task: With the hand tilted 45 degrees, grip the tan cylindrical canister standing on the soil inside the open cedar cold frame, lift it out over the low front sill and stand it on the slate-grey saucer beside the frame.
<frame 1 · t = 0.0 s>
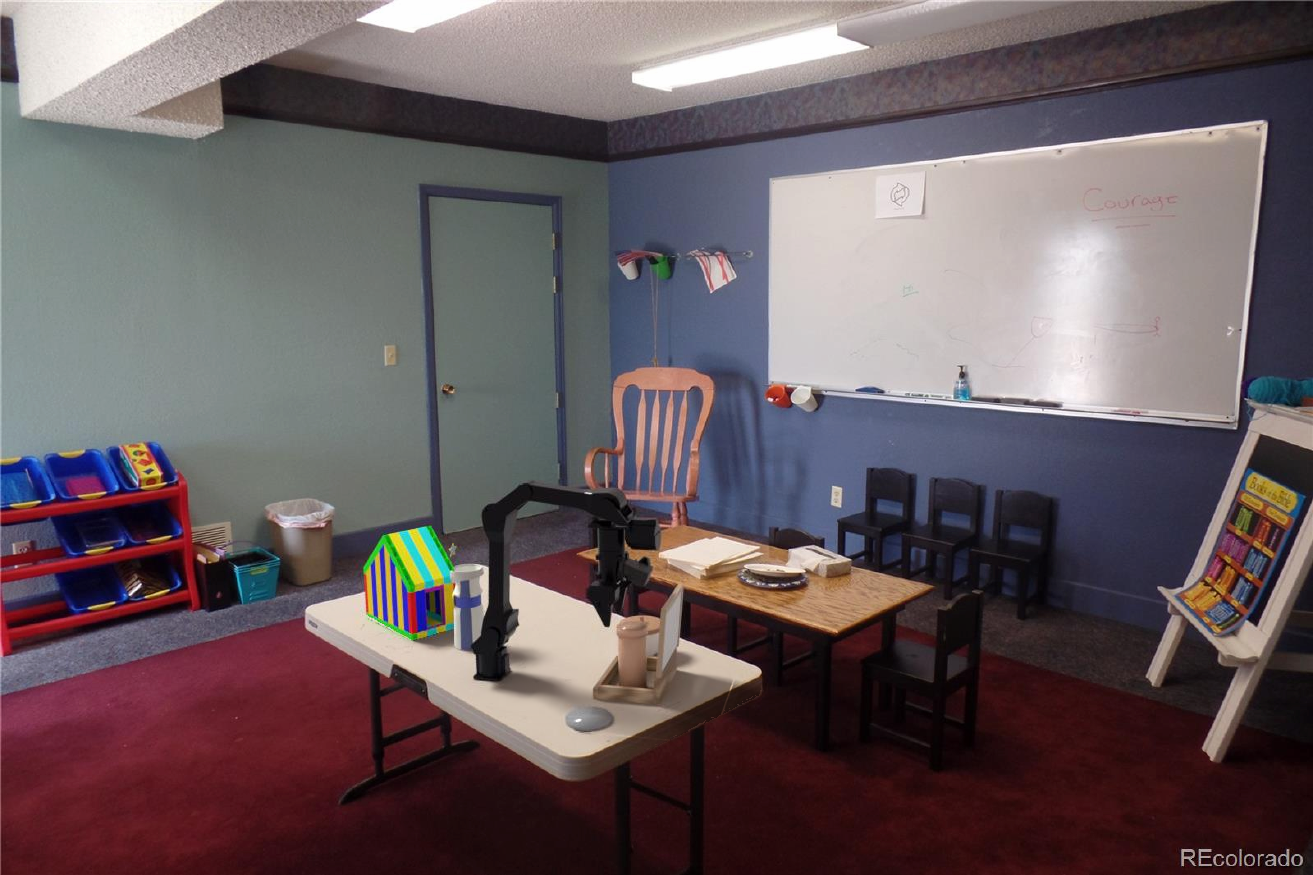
hand: (613, 619, 186), 15 cm above the table, tool pointing down, fingers open, 9 cm apart
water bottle: (469, 645, 213), on the table
lidded jar: (642, 655, 205), on the table
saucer: (588, 721, 171), on the table
tan cylindrical canister: (633, 689, 185), resting on cold frame
toy house: (412, 623, 229), on the table
cold frame: (636, 685, 188), on the table
lid: (667, 660, 185), resting on cold frame
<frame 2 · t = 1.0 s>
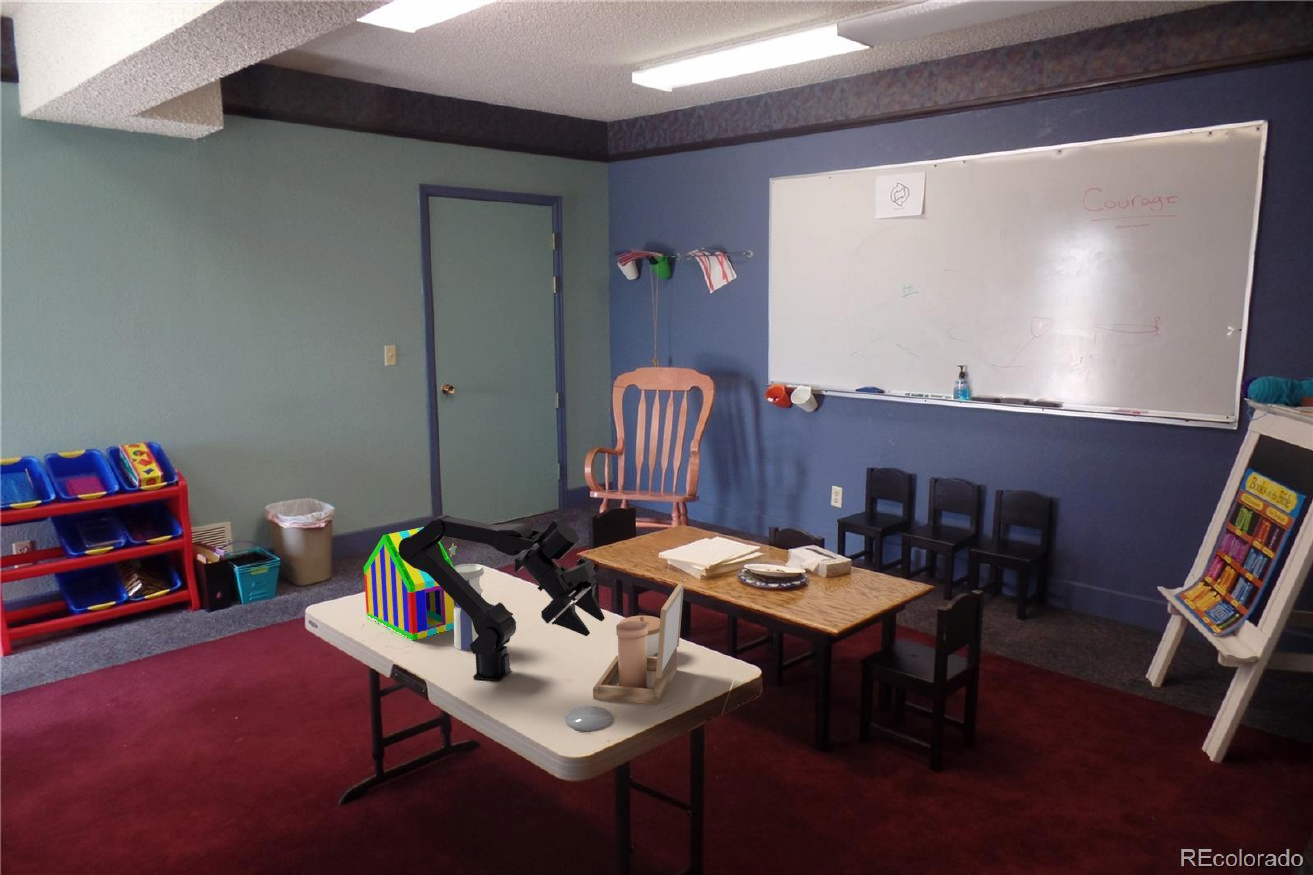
hand: (596, 627, 185), 13 cm above the table, tool tilted 45°, fingers open, 9 cm apart
nothing on the table moved.
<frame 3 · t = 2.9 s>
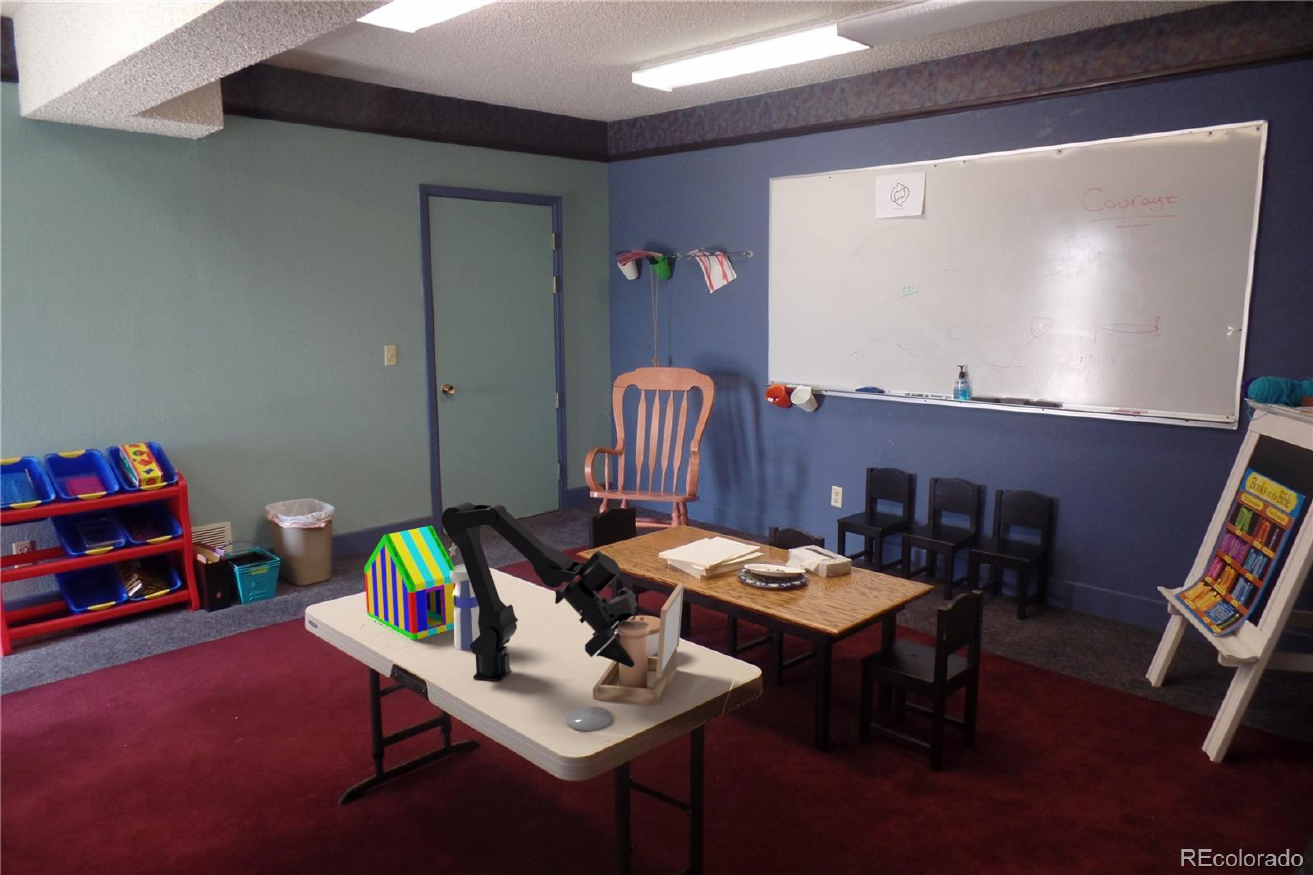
hand: (638, 659, 183), 7 cm above the table, tool tilted 45°, fingers open, 7 cm apart
nothing on the table moved.
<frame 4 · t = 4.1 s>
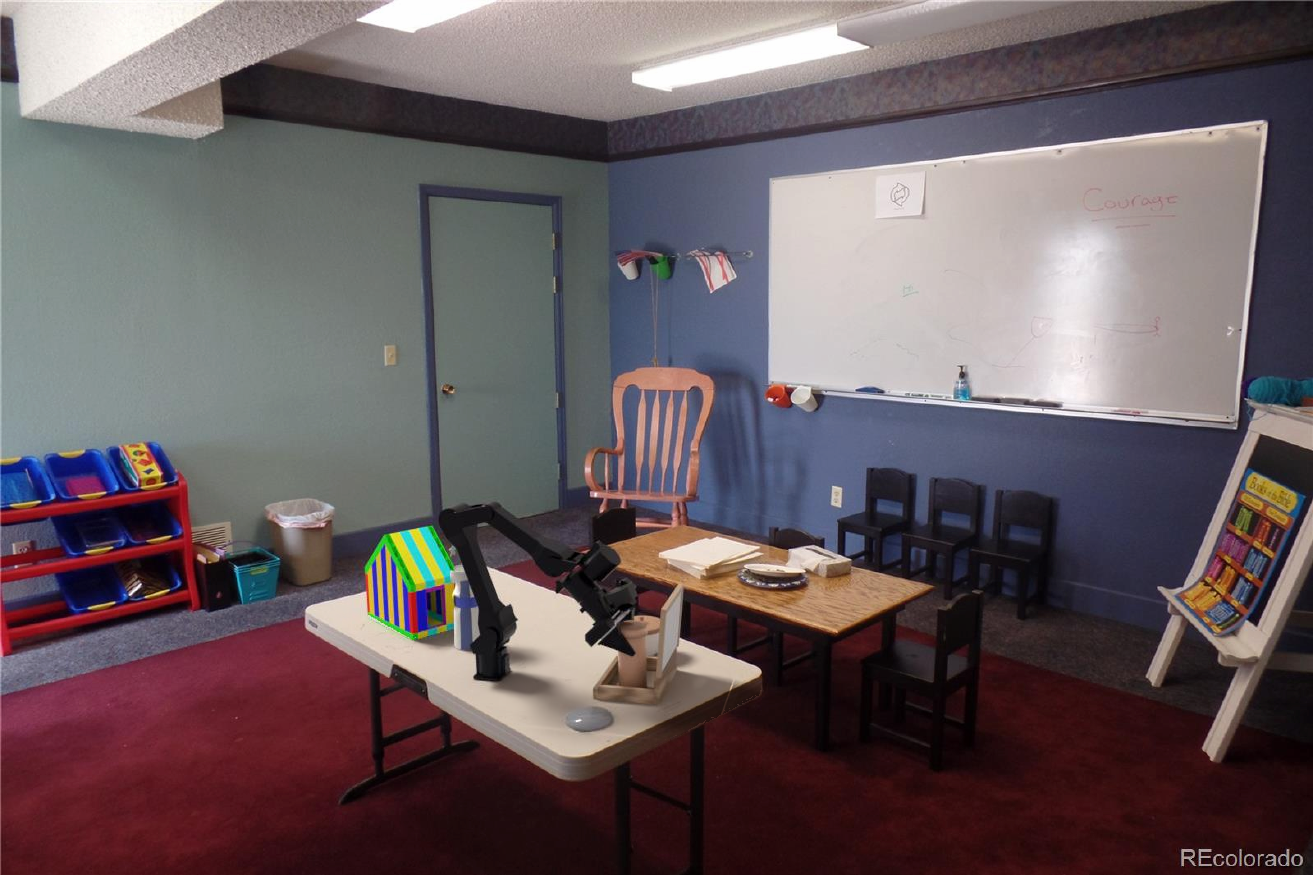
hand: (638, 649, 183), 9 cm above the table, tool tilted 45°, fingers closed on tan cylindrical canister, 6 cm apart
tan cylindrical canister: (633, 689, 185), resting on cold frame, touching gripper
everything else where it was.
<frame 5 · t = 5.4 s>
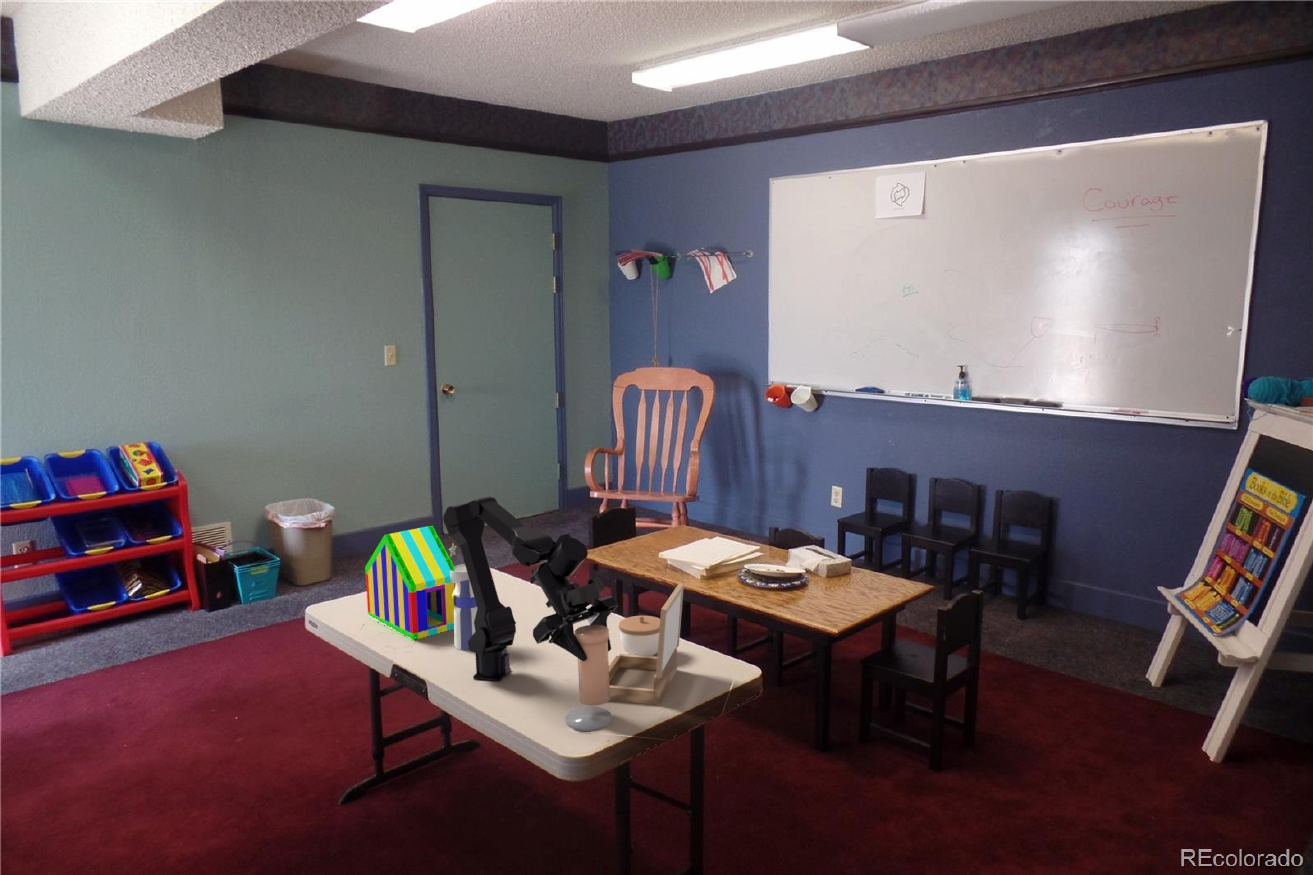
hand: (597, 655, 169), 13 cm above the table, tool tilted 45°, fingers closed on tan cylindrical canister, 6 cm apart
tan cylindrical canister: (594, 698, 172), point 4 cm above the table, touching gripper
everything else where it was.
when the fingers open (9 cm above the table, at t = 6.8 s): tan cylindrical canister stays where it is, resting on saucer.
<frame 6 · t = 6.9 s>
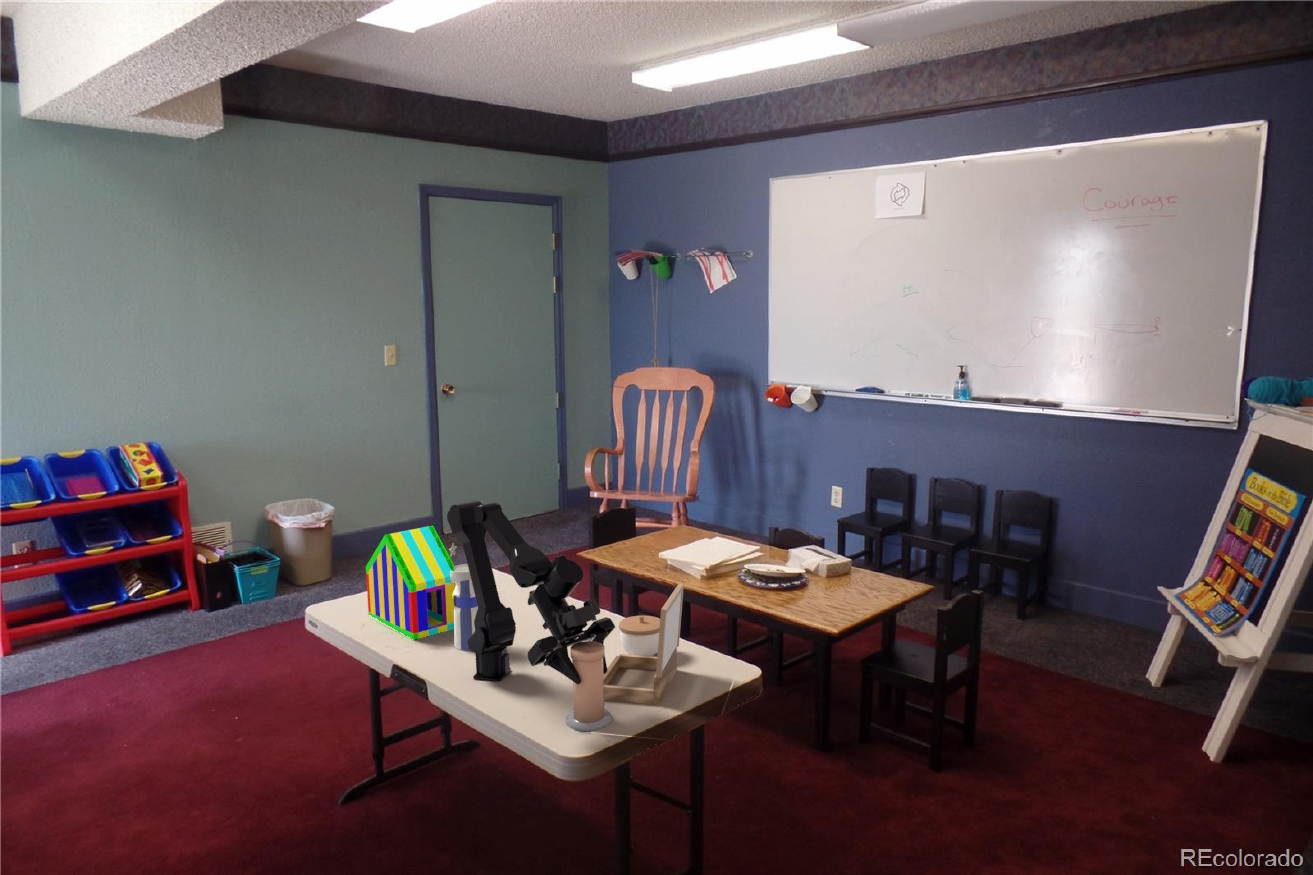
hand: (592, 678, 169), 9 cm above the table, tool tilted 45°, fingers open, 6 cm apart
tan cylindrical canister: (589, 715, 171), point 1 cm above the table, touching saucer
everything else where it was.
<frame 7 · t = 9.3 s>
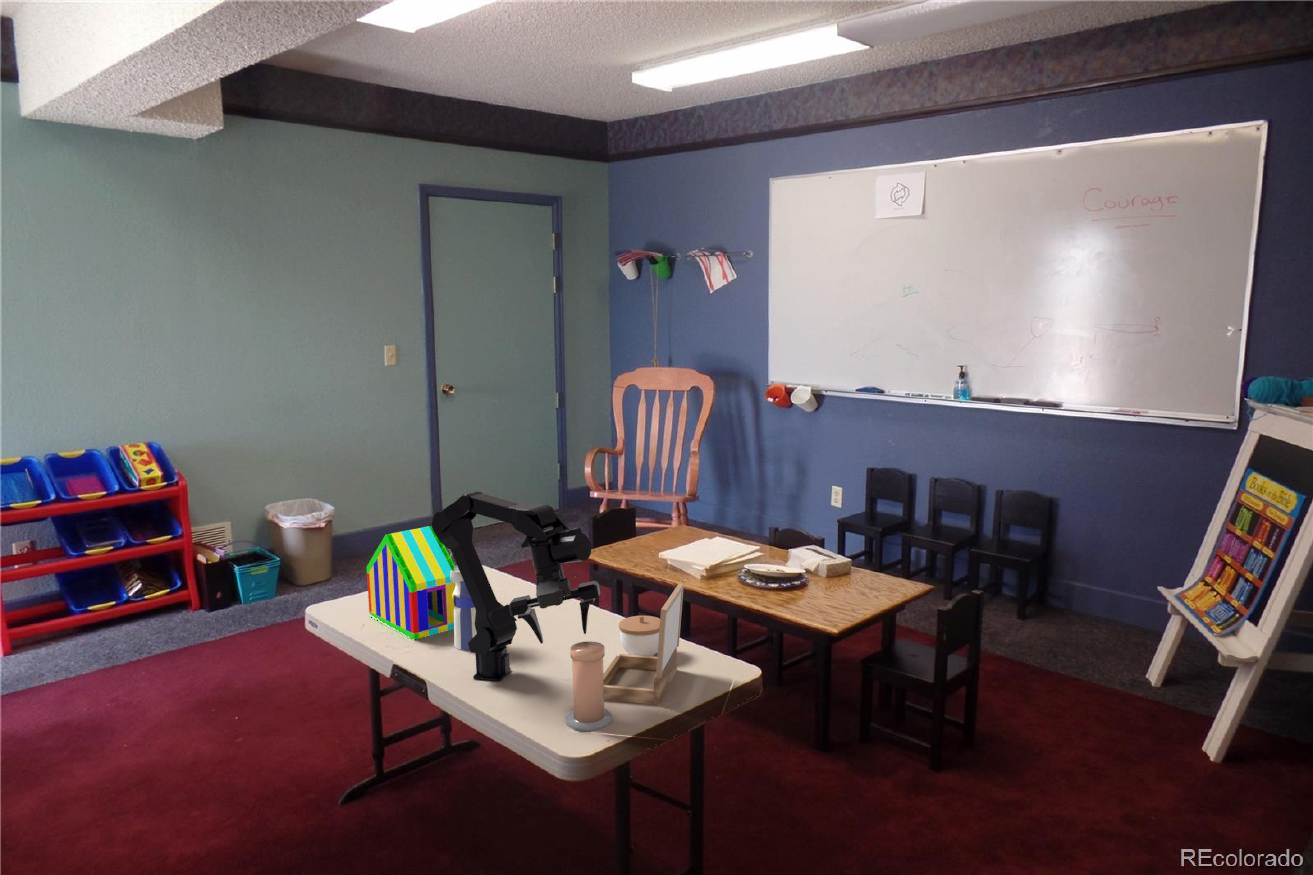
hand: (563, 638, 182), 12 cm above the table, tool pointing down, fingers open, 9 cm apart
nothing on the table moved.
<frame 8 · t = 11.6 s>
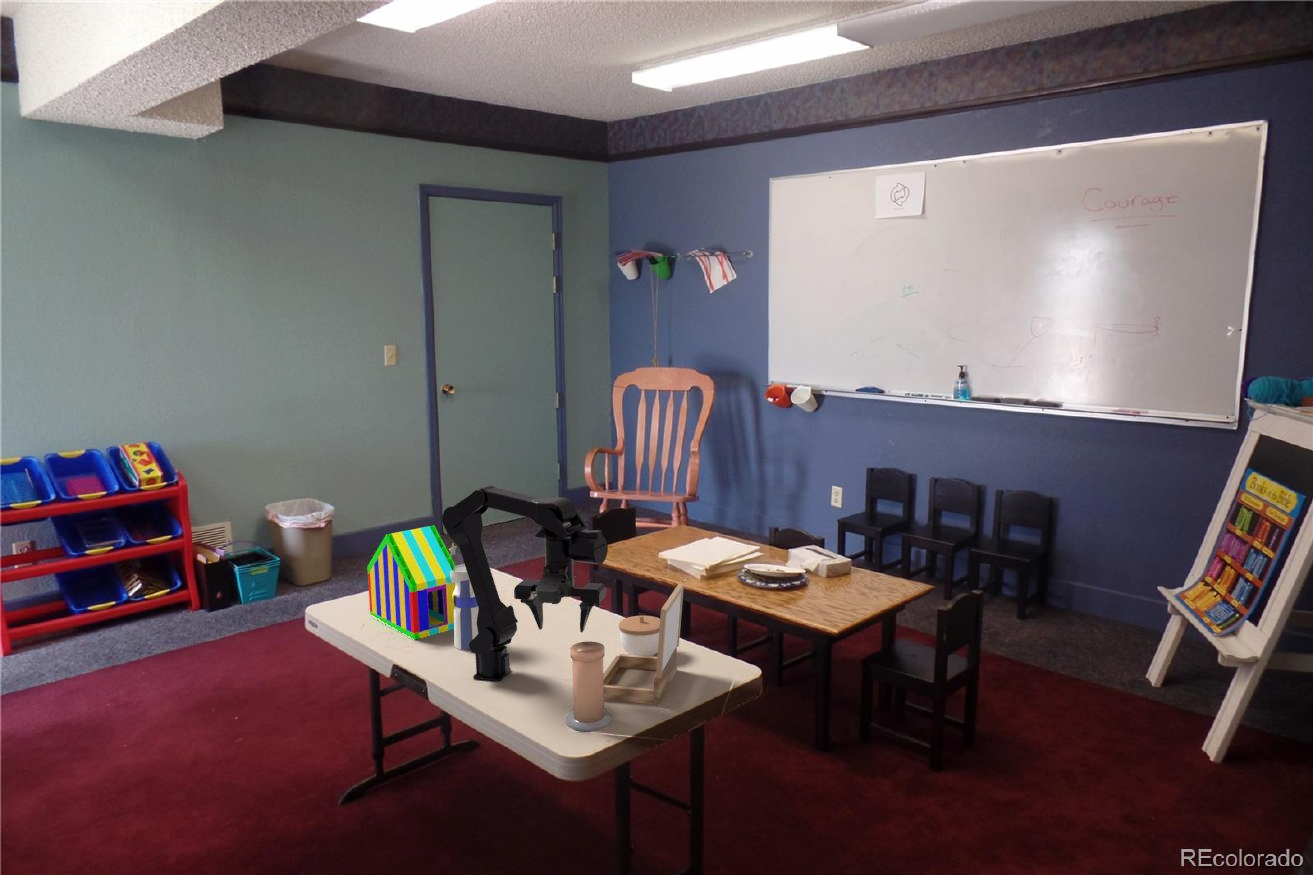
hand: (561, 630, 184), 13 cm above the table, tool pointing down, fingers open, 9 cm apart
nothing on the table moved.
at the end: tan cylindrical canister inside the target area on the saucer (0.2 cm from its centre), point 1.0 cm above the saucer's base; tan cylindrical canister tilted 0°; the gripper is holding nothing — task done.
